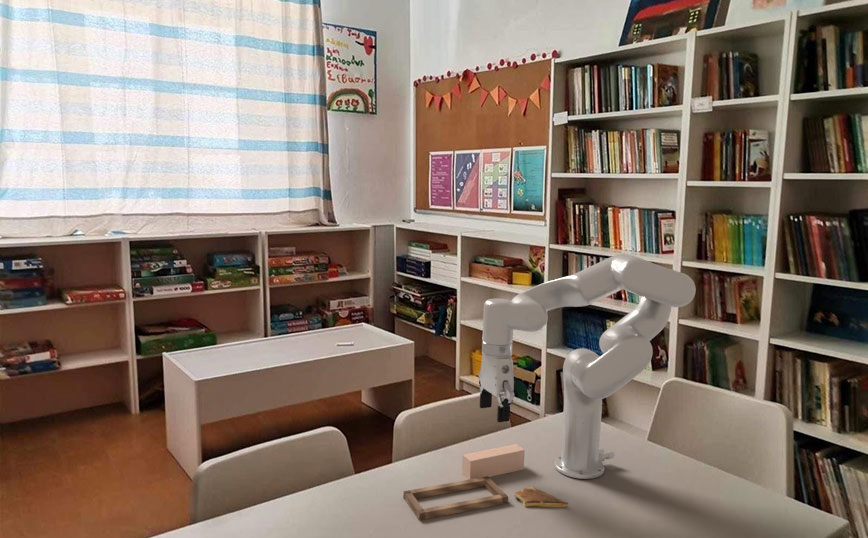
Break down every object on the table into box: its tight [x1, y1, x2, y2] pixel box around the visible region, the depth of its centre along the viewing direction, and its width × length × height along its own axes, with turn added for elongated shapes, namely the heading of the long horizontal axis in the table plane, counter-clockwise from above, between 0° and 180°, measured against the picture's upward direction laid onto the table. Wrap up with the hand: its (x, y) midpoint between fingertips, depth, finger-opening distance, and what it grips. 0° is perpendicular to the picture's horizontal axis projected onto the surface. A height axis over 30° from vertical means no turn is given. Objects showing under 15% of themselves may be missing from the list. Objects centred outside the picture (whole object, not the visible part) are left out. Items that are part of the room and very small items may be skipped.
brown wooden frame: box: [402, 476, 509, 521], centre depth 149 cm, size 22×10×2 cm, turn 112°
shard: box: [513, 486, 569, 508], centre depth 148 cm, size 11×8×2 cm
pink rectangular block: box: [461, 443, 526, 480], centre depth 163 cm, size 16×4×6 cm, turn 116°
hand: (494, 414), depth 162 cm, fingers open, 9 cm apart
